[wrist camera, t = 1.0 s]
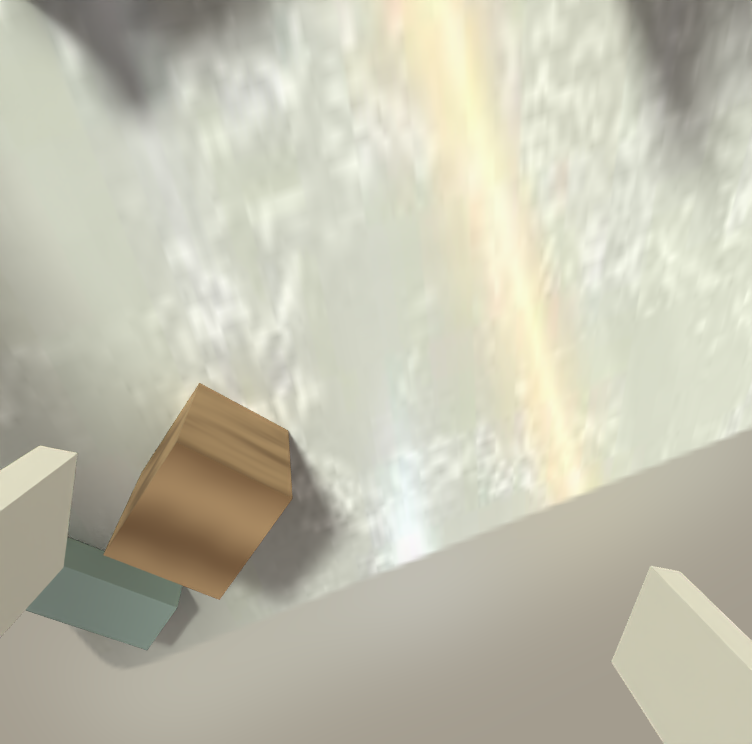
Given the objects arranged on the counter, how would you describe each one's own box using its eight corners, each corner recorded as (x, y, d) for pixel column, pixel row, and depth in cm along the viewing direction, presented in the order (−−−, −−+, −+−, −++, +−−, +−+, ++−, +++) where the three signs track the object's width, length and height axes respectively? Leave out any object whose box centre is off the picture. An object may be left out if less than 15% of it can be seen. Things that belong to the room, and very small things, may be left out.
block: (199, 382, 39) (176, 442, 30) (288, 430, 42) (292, 498, 33) (141, 472, 41) (103, 555, 32) (231, 512, 44) (219, 599, 34)
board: (-37, 496, 39) (-60, 520, 36) (183, 581, 45) (177, 607, 42) (-65, 545, 40) (-90, 572, 37) (154, 622, 46) (147, 650, 43)
